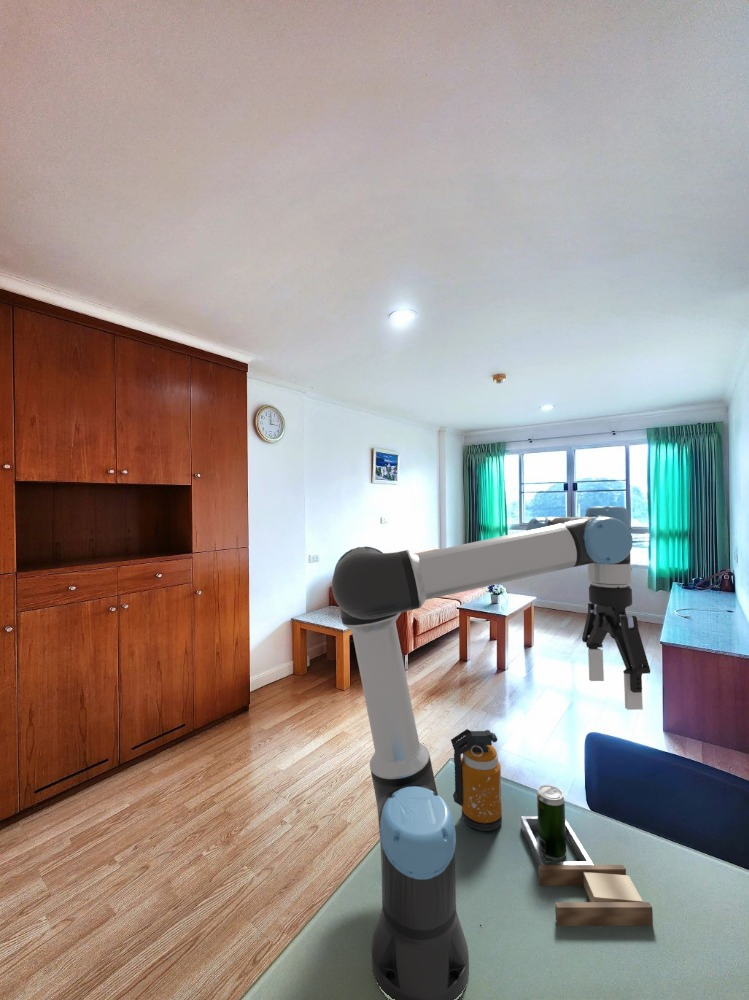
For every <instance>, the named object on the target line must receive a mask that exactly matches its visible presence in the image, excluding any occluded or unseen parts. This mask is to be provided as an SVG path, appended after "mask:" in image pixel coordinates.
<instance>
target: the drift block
mask: <svg viewBox="0 0 749 1000" xmlns="http://www.w3.org/2000/svg"><path fill="white" fill-rule="evenodd" d="M583 875H584V886H583V888H584V890H585V894H587V897H588V900H589V902H644V901H643V899H642V897H641V895H640V894H639V891H638V890H637V888H636V886H635V884H634V883H633V881H632V879H631V877H630V875H627V874H626V875H617V874H604V873H592V872H583Z"/></svg>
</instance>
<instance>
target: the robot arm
mask: <svg viewBox="0 0 749 1000" xmlns="http://www.w3.org/2000/svg"><path fill="white" fill-rule="evenodd" d="M633 540H634V539H633V536H632V532H631V526H630V517H629V511H628V509H627V508H626V507H624V506H620V505H619V506H614V505H613V506H611V505H609V506H588V507H587V508H586V509H585V515H584V516H543V517H542V516H541V517H533V518H531V519H530V520H529V521H528V524H527V526H526V529H525V531H520V532H514V533H509V534H506V535H501V536H495V537H492V538H487V539H482V540H477V541H472V542H469V543H465V544H464V543H463V544H458V545H455V546H450V547H449V546H448V547H444V548H440V549H435V550H431V551H426V552H421V553H417V554H416V553H414V552H411V551H410V550H408V549H406V550H399V551H395V552H387V553H386V552H385V553H384V552H383V551H381V550H380V549H378V548H376V547H372V546H358V547H355V548H351V549H349V550H348V551H346V552H345V553H343V555H341V556H340V558H339V559H338V560H337V562H336V564H335V567H334V570H333V575H332V578H331V579H332V581H331V589H332V590H331V591H332V595H333V598H334V601H335V602H336V603H337V606H338V607H339V614H340V619H341V621H342V622H341V623H342V626H344V627H346V628H347V629H349V630H350V631H351V632H352V633H351V634H352V638H353V643H354V644H353V645H354V648H355V654H356V660H357V665H358V669H359V675H360V678H361V679H360V680H361V686H362V690H363V696H364V701H365V706H366V710H367V711H366V712H367V715H368V716H367V717H368V720H369V727H370V732H371V737H372V742H373V748H374V753H373V755H372V756H371V758H370V761H369V769H370V774H371V778H372V784H373V785H372V786H373V790H374V791H373V792H374V795H375V801H376V802H375V803H376V808H377V820H378V830H379V844H380V859H381V860H380V861H381V905H382V906H381V909H380V912H379V917H378V919H377V923H376V926H375V929H374V933H373V936H372V941H371V942H372V943H371V966H372V967H371V969H372V968H373V969H372V974H373V973H374V974H373V977H374V976H375V978H374V980H375V979H376V980H375V983H376V982H377V983H378V985H379V986H380V987H381V989H382V990H383V991H384V992H385V993H386V994H387V995H389V996H390V997H391V998H392V999H395V1000H454V999H456V998H457V997H458V996H459V995H460V994H461V993H462V991H463V990H464V988H465V986H466V984H467V985H468V983H467V982H469V977H470V959H469V957H470V956H469V948H468V947H469V946H468V944H467V943H468V942H467V939H466V937H465V933H464V930H463V927H462V924H461V922H460V918H459V915H458V913H457V904H456V903H457V887H456V886H457V885H456V884H457V883H456V882H457V881H456V880H457V879H456V878H457V877H456V845H457V842H456V841H457V838H456V837H457V834H456V827H455V823H454V817H453V816H454V815H453V814H452V810H451V809H450V807H449V804H448V803H447V802H446V800H445V799H443V797H442V796H441V795H439V793H438V789H437V785H436V780H435V776H434V770H433V766H432V759H431V755H430V751H429V749H428V748H427V746H426V745H425V744H423V743H422V742H420V739H419V734H418V729H417V726H416V725H417V724H416V720H415V715H414V710H413V709H414V708H413V705H412V699H411V694H410V691H409V690H410V689H409V683H408V680H407V674H406V669H405V664H404V658H403V654H402V648H401V643H400V639H399V638H400V637H399V634H398V633H399V632H398V629H397V621H398V618H399V617H400V615H401V614H402V613H405V612H407V611H413V610H417V609H422V607H423V605H424V604H425V602H426V601H428V600H432V599H437V598H441V597H445V596H450V595H454V594H459V593H460V594H461V593H464V592H468V591H473V590H476V589H482V588H485V587H489V586H494V585H498V584H499V585H500V584H503V583H508V582H512V581H517V580H521V579H526V578H531V577H535V576H539V575H543V574H548V573H553V572H557V571H562V570H566V569H571V568H575V567H576V568H577V567H581V566H586V565H587V580H588V582H590V584H589V585H588V601H589V602H588V603H587V615H586V620H585V624H584V629H583V631H582V632H583V633H582V637H581V639H582V642H583V643H585V645H586V648H588V649H587V651H588V652H587V653H588V679H589V681H590V682H605V678H604V677H605V676H604V675H605V674H604V673H605V671H604V650H603V648H604V645H603V642H604V640H605V638H606V636H607V634H609V635H610V637H611V638H612V639H613V640H615V641H614V642H615V645H616V646H617V649H618V651H619V654H620V656H621V659H622V661H623V664H624V667H625V669H624V670H623V682H624V683H623V685H624V708H625V709H626V710H627V711H630V710H632V711H633V710H636V711H637V710H640V711H641V710H643V709H644V708H643V707H644V706H643V683H642V682H643V680H642V678H643V677H642V676H643V674H646V675H647V674H650V673H651V667H650V664H649V661H648V657H647V653H646V651H645V648H644V644H643V639H642V637H641V634H640V631H639V623H638V618H637V616H636V615H627V612H626V609H627V608H628V607H631V606H632V605H633V588H632V587H631V586H630V584H631V583H632V571H633V570H632V567H631V550H632V548H633ZM468 976H469V977H468ZM377 983H376V984H377ZM378 985H377V986H378ZM466 987H467V986H466ZM465 989H466V988H465Z"/></svg>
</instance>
